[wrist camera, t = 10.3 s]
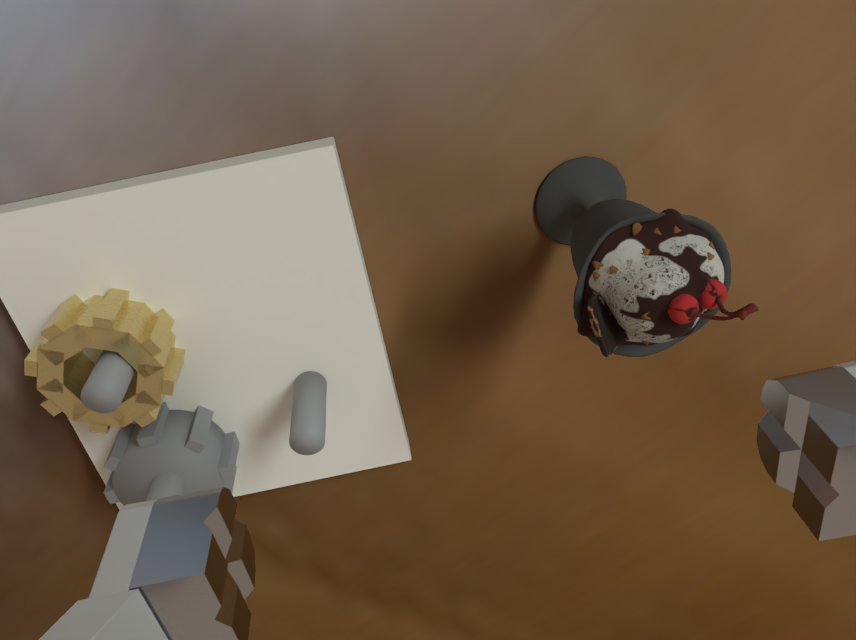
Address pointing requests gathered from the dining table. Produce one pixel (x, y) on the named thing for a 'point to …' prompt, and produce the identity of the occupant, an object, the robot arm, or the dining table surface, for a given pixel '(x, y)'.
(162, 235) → the gear board
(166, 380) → the gear
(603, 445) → the dining table surface
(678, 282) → the sundae
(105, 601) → the robot arm
